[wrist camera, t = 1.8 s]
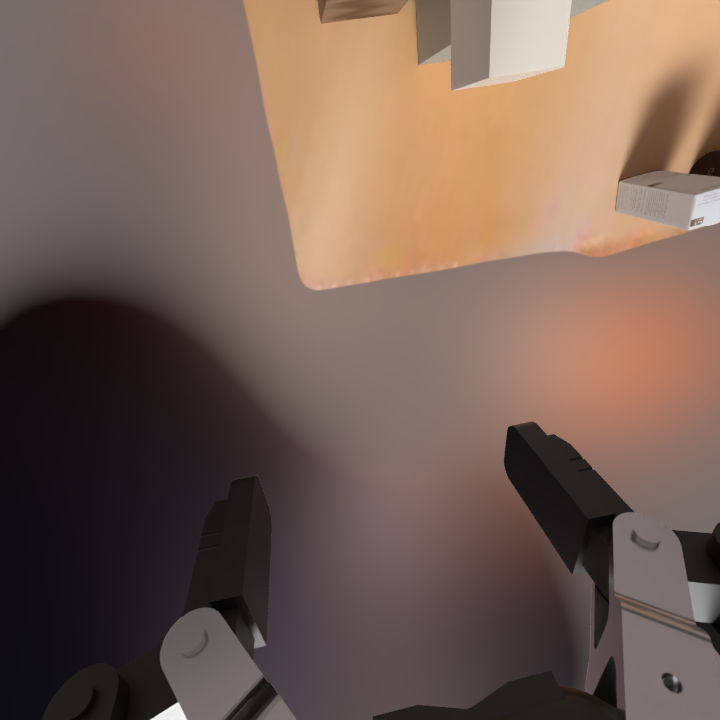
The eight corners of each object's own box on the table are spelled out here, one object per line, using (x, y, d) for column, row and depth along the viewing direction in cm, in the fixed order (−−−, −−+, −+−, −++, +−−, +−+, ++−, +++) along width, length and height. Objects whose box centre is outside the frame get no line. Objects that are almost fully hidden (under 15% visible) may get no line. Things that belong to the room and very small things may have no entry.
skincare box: (659, 168, 52) (751, 175, 41) (653, 203, 54) (740, 217, 44) (615, 181, 52) (697, 190, 41) (612, 215, 54) (689, 232, 43)
